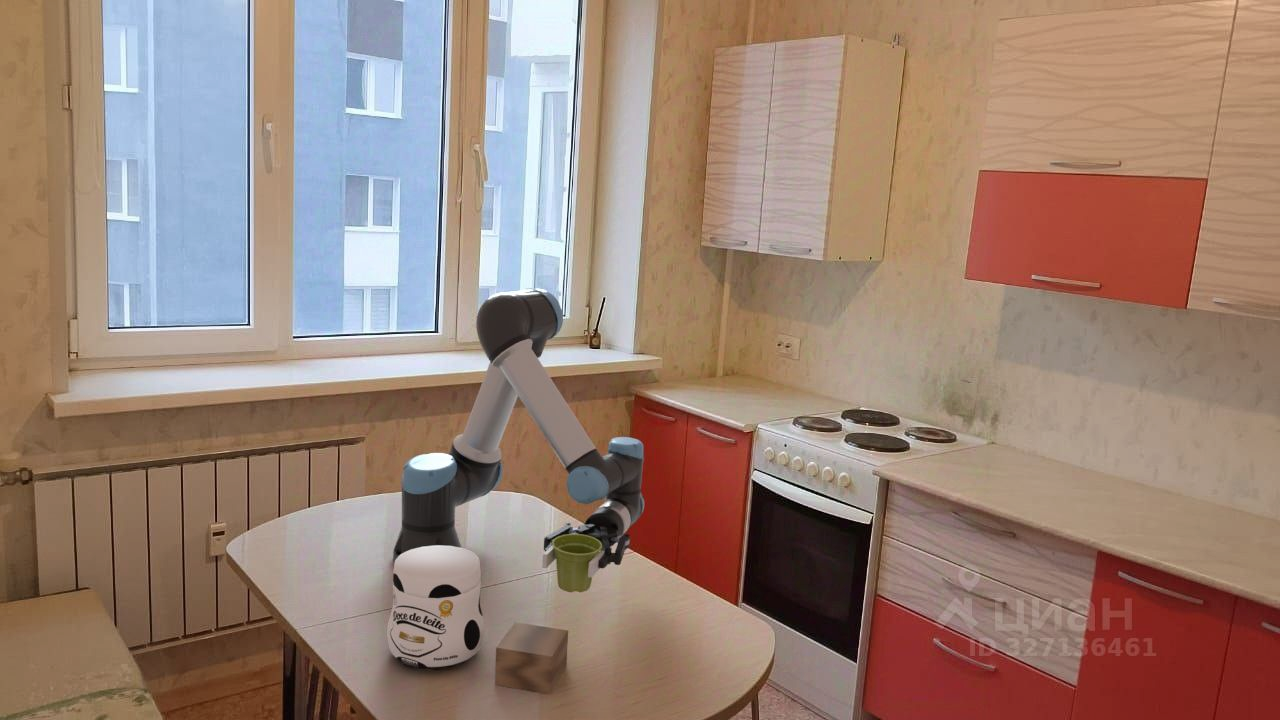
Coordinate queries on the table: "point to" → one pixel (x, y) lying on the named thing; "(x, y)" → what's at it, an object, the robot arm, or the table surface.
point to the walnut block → (531, 657)
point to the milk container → (436, 607)
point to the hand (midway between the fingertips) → (567, 565)
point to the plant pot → (575, 560)
